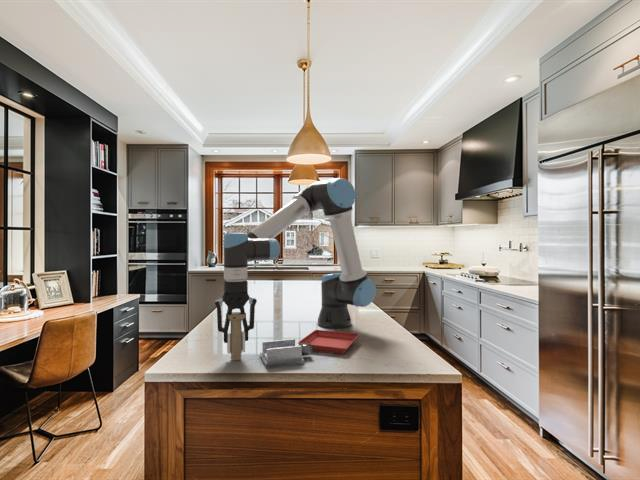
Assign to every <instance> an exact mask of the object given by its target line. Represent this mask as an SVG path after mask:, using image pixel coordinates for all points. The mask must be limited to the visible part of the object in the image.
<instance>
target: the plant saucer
mask: <svg viewBox="0 0 640 480" xmlns="http://www.w3.org/2000/svg"><path fill="white" fill-rule="evenodd" d="M359 336H360V334H359V333H352V332H342V331H333V330H323V329H315V330H313V331H312V332H310V333H309V334H307V335H306V336H305V337H304V338H302V339H301V340H299V341H297V342H298V343H297V344H298V345H303V344H311V345H312V352H313V351H314V352H320V353H328V354H329V353H330V354H337V355H344V354H345V353H346V352H347V350H349V349H350V347H351V346H352V345H353V344H354V343H355V342H356V341H357V339H358V338H359Z"/></svg>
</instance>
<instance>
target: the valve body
mask: <svg viewBox="0 0 640 480" xmlns="http://www.w3.org/2000/svg"><path fill="white" fill-rule="evenodd" d="M261 347H262V349H261V350H262V351H260V352H259V357H260V358H261V360H262V362H263V365H264V366H265V368H266V369H271V368H272V369H273V368H279V367H280V368H281V367H288V366H298V365H305V359H304V358H303V357H305V356H306V357H307V356H312V355H313V351H312V345H311V344H303V345H299V344H298V345H296V339H295V338H287V339H276V340H265V341H262V342H261Z"/></svg>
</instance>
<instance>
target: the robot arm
mask: <svg viewBox="0 0 640 480" xmlns="http://www.w3.org/2000/svg"><path fill="white" fill-rule="evenodd" d="M356 196H357V194H356V190H355V188H354V185H353V184H352V182H350V181H349V180H348V179H346V178H341V177H339V178H337V177H335V178H330V179H325V180H318V181H315V182H313V183H310V184H309V185H307V186H306V187H305V188H303V189H302V190H301V191H299V192H298V193H296V194H295V195H294V196H293V197H292V199H291V201H289V202H288V203H287V204H285V205H284V206H283V207H281V208H279V209H278V211H276V212H274V213H273V214H272V215H270V216H269V217H268V218H266V219H265V220H264V221H262V222H261V223H259V224H258V225H257V226H255V227H254V228H253V229H251V230H250V231H249V232H247V233H246V232H227V233H225V234H224V237H223V247H222V248H223V279H224V281H223V295H222V297H221V298H220V299H215V300H214V304H215V308H216V316H217V318H216V320H217V322H216V323H217V331H218V332H219V333H223V342H224V344H226V352H227V354H229V355H231V353H230V330H229V329H230V325H231V321H230V319H228V315H231V314H232V312H233V310H236V309H237V310H239V312H240V313H241V314H245V313H246V312H245V306H246V304H247V303H248V304H249V324H248V321H247V316H246V317H245V318H244V319H243V320H242V321H241V323H242V325H243V326H242V327H243V329H242V353H245V352H246V342H248V341H249V331H250V330H254V328H255V309H256V308H255V307H256V305H257V302H258V301H257V299H256V298H255V297H254V298H253V297H250V295H249V293H248V292H249V291H248V288H249V287H248V284H249V283H248V281H249V280H247V279H248V278H249V277H248V276H249V275H248V265H249V264H248V262H252V261H253V262H255V261H273V260H276V259H278V258H279V256H280V253H281V245H280V242H279V241H278V240H277V239H276V237H277V236H278V235H280V234H281V233H282V232H283V231H285V230H287V228H289V227H290V226H291V225H293V224H294V223H296V222H297V221H298V220H299V219H301V218H302V217H303V216H308V215H309V214H311V213H312V212H315V211H319V210H322V211H323V215H324V217H325V218H327V219H328V220H329V224H330V228H331V233H332V236H333V237H332V238H333V241H334V246H335V250H336V254H337V257H338V262H339V266H340V270H341V272H338V273H328V274H323V275H322V277H321V283H320V284H321V287H320V288H321V308H320V312H319V314H318V318H317V325H318V326H320V327H323V328H327V329H343V328H348V327H351V326H352V318H351V314H350V312H349V308H348V305H350V306H354V307H356V308H358V307H360V308H366V307H367V306H369V305H371V303H372V302H373V301H374V298H375V297H376V294H377V287H376V284H375V282H374V281H373V280H371V279H369V278H368V277H369V276H368V273H367V271H366V270H365V269H363V268H362V267H363V266H362V263H361V258H360V254H359V250H358V249H359V248H358V245H357V240H356V236H355V232H354V227H353V223H352V222H353V220H352V217H351V213H352V211H353V205H354V204H355V202H356V201H355V200H356ZM223 303H224V304H225V305H226V307H227V310H226V313H227V318H226V317H225V319H224V325H223V324H222V323H223V320H222V306H223Z"/></svg>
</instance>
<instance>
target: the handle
mask: <svg viewBox="0 0 640 480" xmlns="http://www.w3.org/2000/svg"><path fill="white" fill-rule="evenodd" d="M245 317H246V318H247V312H245V314H241V313H240V311H232V314H231V315H228V319H230V330H229V331H230V360H231V361H234V362H237V361H240V360H241V359H242V353H243V352H242V330H243V329H242V320H243V319H244V318H245ZM226 318H227V312H226V313H225V319H226Z"/></svg>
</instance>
